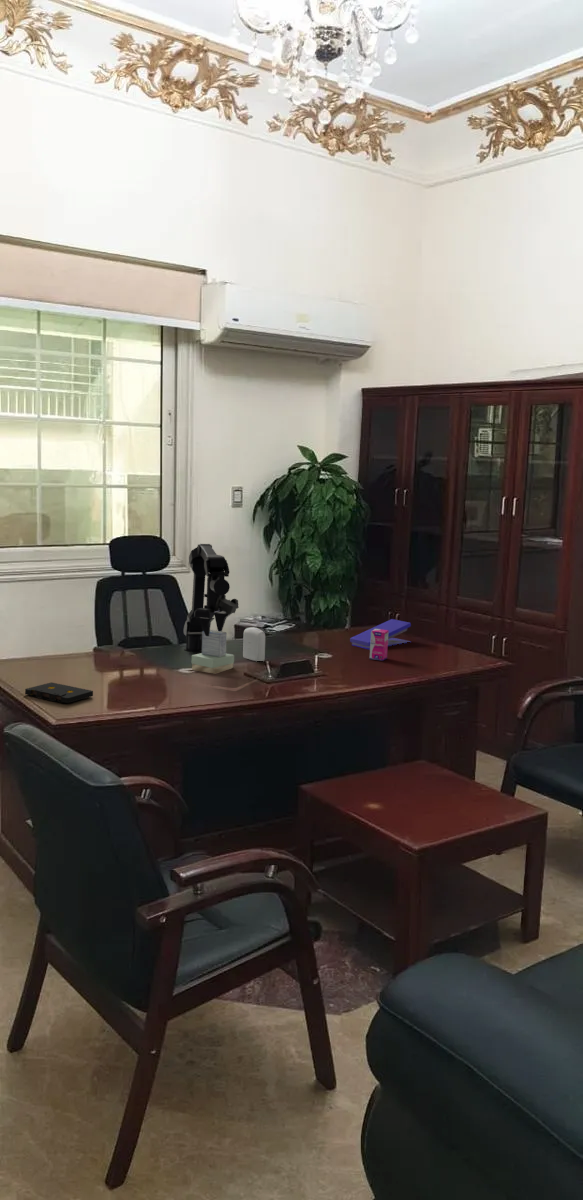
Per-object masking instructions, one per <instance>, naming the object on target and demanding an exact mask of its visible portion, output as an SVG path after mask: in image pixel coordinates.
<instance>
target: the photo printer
mask: <svg viewBox="0 0 583 1200" xmlns="http://www.w3.org/2000/svg"><path fill="white" fill-rule="evenodd" d="M242 635H243V639H242V641H243V642H242V643H243V644H242V645H243V646H242V647H243V648H242V657H243V658H244V659H247V660H250V661H253V662H257V661H263V662H264V661H265V659H266V633H265V632H264V631H263V630H262V629H260V628H257V627H253V626H252V627H246V628H245V629H244V630H243V634H242Z"/></svg>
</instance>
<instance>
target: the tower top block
mask: <svg viewBox="0 0 583 1200" xmlns="http://www.w3.org/2000/svg"><path fill="white" fill-rule="evenodd" d="M232 663H233V664H235V654H232V653H227V652H226V655H225V656H222V657H216V656H210V655H204V654H202V652H201V653H200V652H199V653H197V654H192V655H191V663H190V664H196V665H201V666H205V667H210V668H215V667H219V666H223V665H228V664H232Z"/></svg>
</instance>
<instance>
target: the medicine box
mask: <svg viewBox="0 0 583 1200" xmlns="http://www.w3.org/2000/svg"><path fill="white" fill-rule="evenodd" d="M201 653H202V654H204V655H210V656H216V657H222V656H225V655H226V653H227V632H226V631H223V630H222V631H218V630H214V629H210V633H209V636H206V635H205V633H204V631H203V632H202V651H201Z"/></svg>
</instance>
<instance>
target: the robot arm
mask: <svg viewBox="0 0 583 1200" xmlns="http://www.w3.org/2000/svg"><path fill="white" fill-rule="evenodd" d="M188 564H189V567H190V569H191V571H192V572H193V579H192V582H193V583H192V586H193V587H192V597H191V598H192V601H191V609H190V611H189V612H188V614H187V616H186V620H185V622H184V626H183V635H185V637H186V638H185V639H186V640H185V641H186V642H185V643H186V645H185V648H184V649H183V651H186V652H187V651H188V652H193V653H194V652H195V653H200V652H202V632H203V631H204V633H205V635H206V636H209V633H210V630H211V625H212V621H214V620H215V624H216V630H217V631H222V632H223V629H224V626H225V623H226V620H227V618H228V617H229V616H231V615H232V614H235V613H236V611H237V609H239V600H238V599H237V598H232V599H227V598H226V594H228V593H229V591H230V588H231V587H230V583H229V581H228V580H226V579H225V577H227V578H229V574H230V568H229V563H228V561H227V559H226V558H225V556H223V555H220V554H217V553H216V551H215V550H214V548H213V545H212V544H211V543H200V544H197V547H195V548H193V549H192V550H190V552H189V556H188ZM206 577H207V578H206ZM205 585H206V593H205ZM205 598H206V604H204V603H205Z"/></svg>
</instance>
